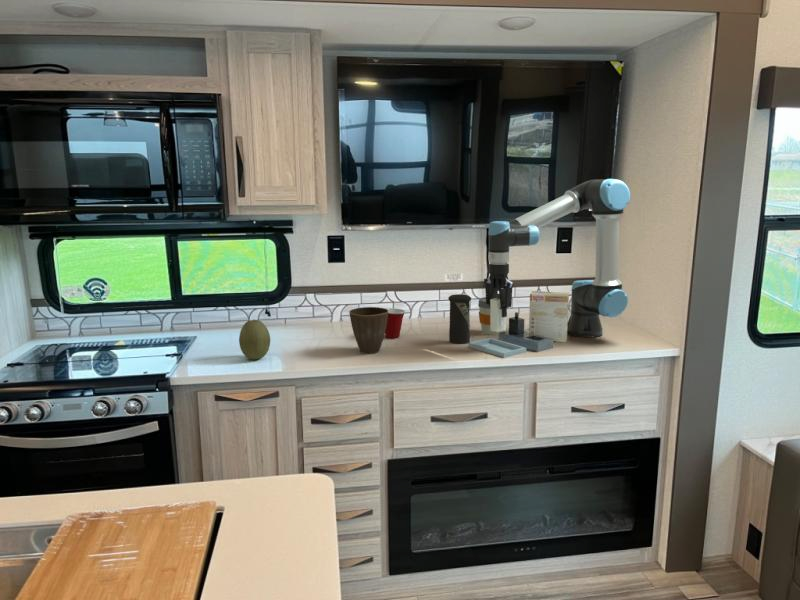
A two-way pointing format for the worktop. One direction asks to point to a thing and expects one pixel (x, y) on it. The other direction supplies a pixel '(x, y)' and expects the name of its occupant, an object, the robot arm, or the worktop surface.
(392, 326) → the plastic cup
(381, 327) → the plant pot
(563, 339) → the coffeecake box
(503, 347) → the tray
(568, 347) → the worktop surface
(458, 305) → the container
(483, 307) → the reusable coffee cup
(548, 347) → the grey socket base
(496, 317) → the plug
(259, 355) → the fruit
